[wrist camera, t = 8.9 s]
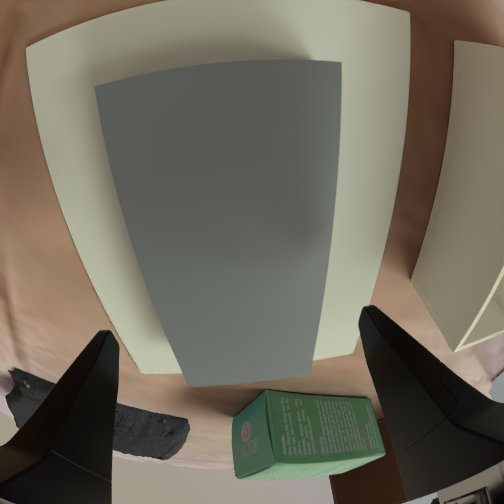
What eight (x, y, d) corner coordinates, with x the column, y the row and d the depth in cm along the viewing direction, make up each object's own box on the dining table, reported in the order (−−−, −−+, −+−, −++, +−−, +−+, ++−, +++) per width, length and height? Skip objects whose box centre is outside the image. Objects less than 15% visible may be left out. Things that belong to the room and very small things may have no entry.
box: (261, 386, 24) (272, 468, 18) (370, 394, 28) (389, 453, 22) (227, 416, 27) (232, 483, 21) (330, 421, 32) (342, 474, 26)
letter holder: (319, 438, 36) (337, 523, 25) (446, 387, 33) (478, 466, 21) (330, 449, 42) (345, 519, 30) (437, 407, 38) (461, 473, 27)
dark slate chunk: (171, 448, 35) (170, 477, 31) (27, 408, 28) (20, 436, 24) (200, 414, 27) (200, 455, 24) (1, 355, 20) (-13, 393, 17)
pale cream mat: (404, 12, 8) (409, 12, 8) (351, 349, 21) (352, 353, 21) (30, 47, 7) (25, 47, 7) (142, 369, 21) (142, 373, 20)
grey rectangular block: (313, 60, 9) (341, 62, 7) (300, 338, 19) (309, 375, 17) (123, 78, 9) (94, 86, 7) (190, 348, 19) (189, 387, 16)
